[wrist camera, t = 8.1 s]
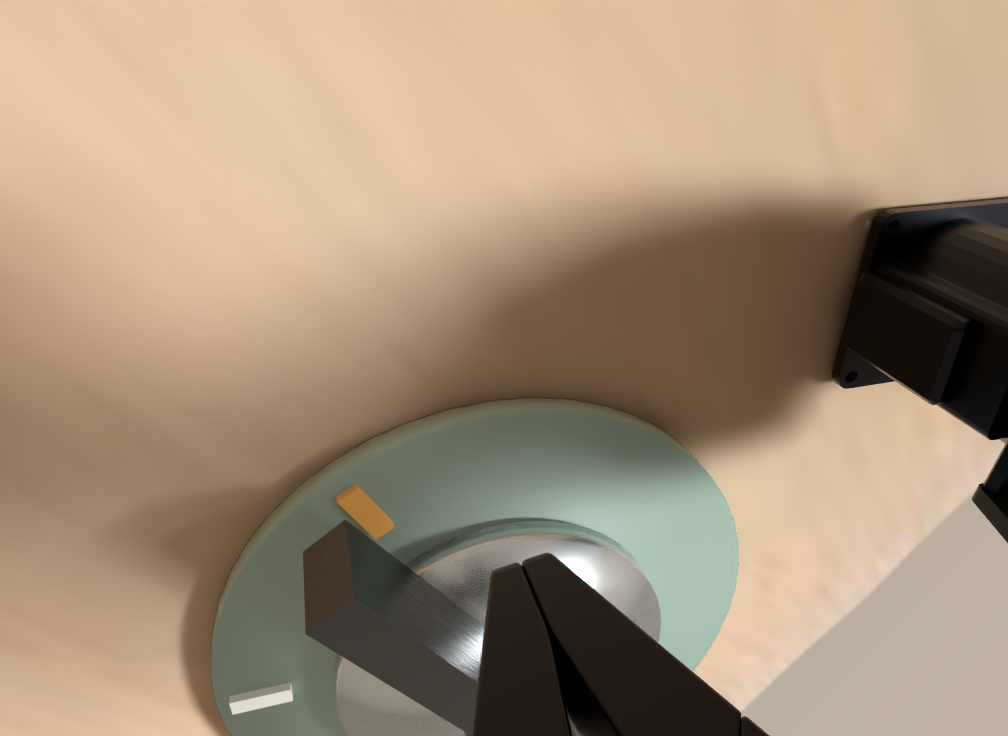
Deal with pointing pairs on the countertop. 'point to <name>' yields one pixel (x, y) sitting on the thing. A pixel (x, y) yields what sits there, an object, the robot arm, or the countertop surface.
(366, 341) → the countertop surface
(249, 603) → the dial plate
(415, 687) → the dial
